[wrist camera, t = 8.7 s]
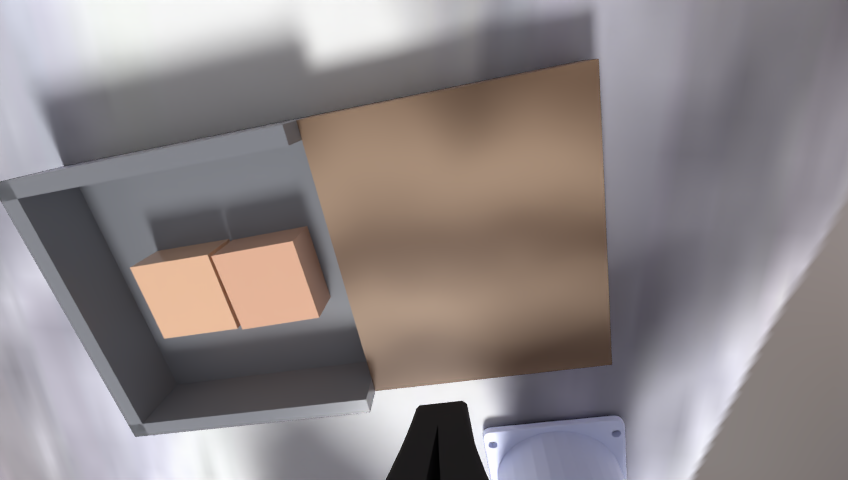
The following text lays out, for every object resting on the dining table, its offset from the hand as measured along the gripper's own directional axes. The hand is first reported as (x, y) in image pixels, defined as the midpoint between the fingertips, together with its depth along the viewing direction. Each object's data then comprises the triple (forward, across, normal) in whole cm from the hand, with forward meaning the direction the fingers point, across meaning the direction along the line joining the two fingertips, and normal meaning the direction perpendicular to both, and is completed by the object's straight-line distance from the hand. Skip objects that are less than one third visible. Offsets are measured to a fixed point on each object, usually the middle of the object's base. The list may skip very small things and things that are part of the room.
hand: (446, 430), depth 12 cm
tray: (+10, +11, -2) cm, 16 cm away
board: (+10, -1, -2) cm, 11 cm away
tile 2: (+10, +12, -2) cm, 16 cm away
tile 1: (+10, +8, -2) cm, 13 cm away
